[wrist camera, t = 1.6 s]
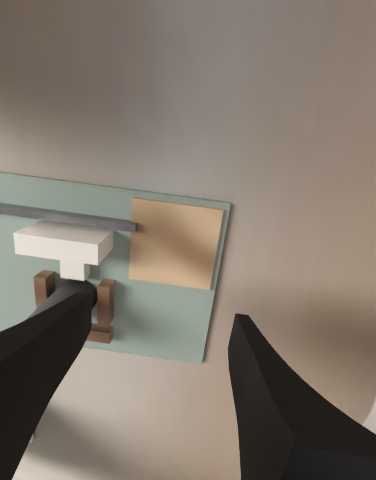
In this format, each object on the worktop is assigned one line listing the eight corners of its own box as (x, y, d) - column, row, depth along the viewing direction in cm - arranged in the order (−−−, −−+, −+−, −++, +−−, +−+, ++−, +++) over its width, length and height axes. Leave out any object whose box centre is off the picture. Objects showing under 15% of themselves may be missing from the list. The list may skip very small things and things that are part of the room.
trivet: (209, 287, 23) (209, 290, 22) (129, 276, 23) (128, 278, 22) (223, 209, 20) (223, 210, 20) (133, 197, 20) (132, 198, 20)
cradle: (113, 336, 25) (108, 347, 24) (47, 327, 25) (38, 337, 24) (114, 279, 23) (109, 287, 22) (43, 269, 23) (33, 277, 22)
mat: (201, 360, 26) (201, 363, 26) (-55, 324, 26) (-59, 326, 26) (230, 202, 20) (230, 203, 20) (-95, 159, 21) (-100, 159, 20)
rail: (138, 228, 21) (135, 232, 20) (-55, 202, 21) (-67, 204, 20) (138, 221, 21) (135, 224, 20) (-57, 194, 21) (-69, 197, 20)
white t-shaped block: (112, 277, 23) (97, 298, 20) (45, 267, 23) (19, 287, 20) (113, 229, 21) (97, 244, 18) (41, 219, 21) (13, 232, 18)
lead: (97, 312, 24) (55, 378, 17) (61, 307, 24) (5, 371, 17) (98, 280, 23) (52, 337, 16) (59, 274, 23) (-2, 329, 16)
